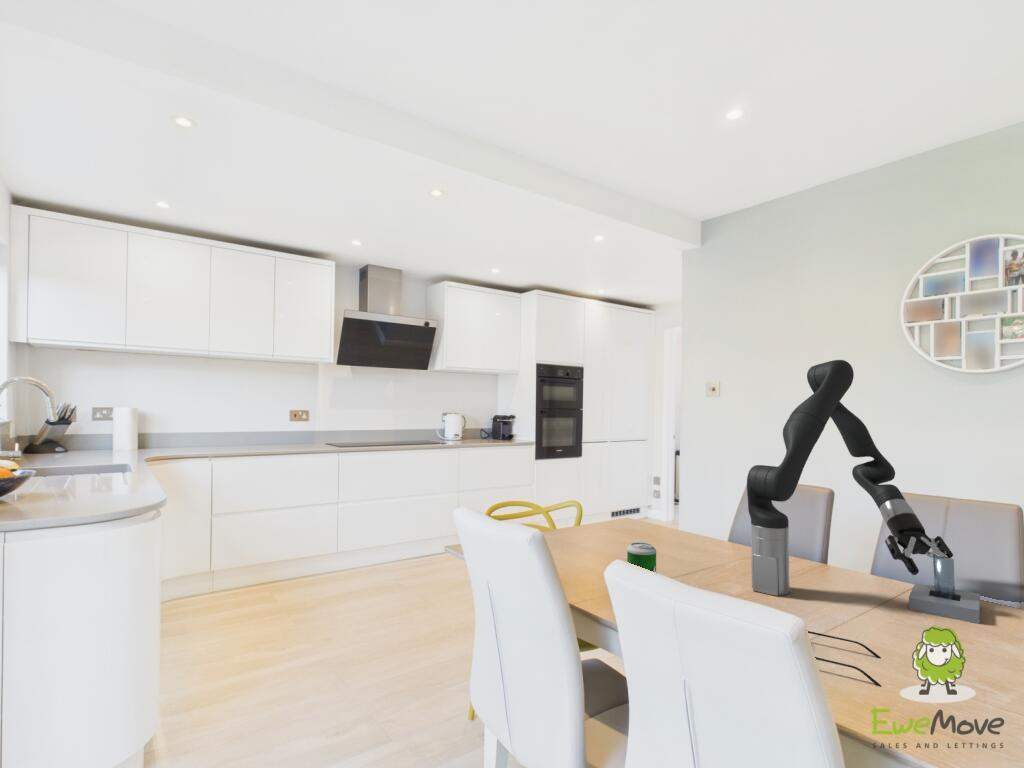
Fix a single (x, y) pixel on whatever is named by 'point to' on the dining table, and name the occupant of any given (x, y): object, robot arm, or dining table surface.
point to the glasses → (846, 664)
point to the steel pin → (944, 577)
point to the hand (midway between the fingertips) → (933, 573)
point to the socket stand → (945, 603)
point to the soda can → (642, 555)
